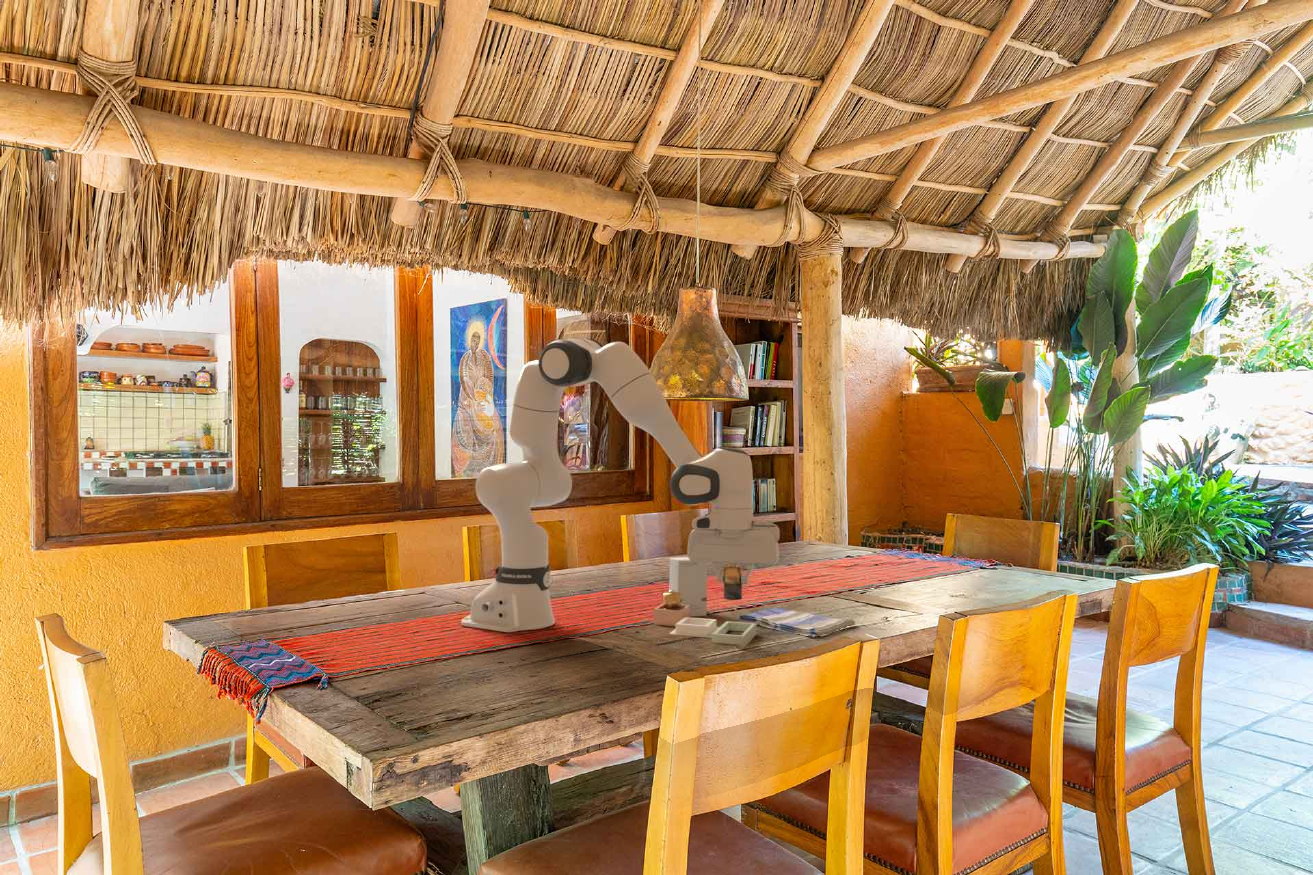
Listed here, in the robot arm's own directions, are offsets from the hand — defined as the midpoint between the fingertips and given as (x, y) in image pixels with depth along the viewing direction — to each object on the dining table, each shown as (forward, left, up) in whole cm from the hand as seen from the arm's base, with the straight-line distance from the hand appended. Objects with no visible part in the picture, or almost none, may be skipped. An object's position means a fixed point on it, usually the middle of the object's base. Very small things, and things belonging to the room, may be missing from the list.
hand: (733, 583), depth 191 cm
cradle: (-10, +4, -13) cm, 17 cm away
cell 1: (-18, +11, -12) cm, 24 cm away
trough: (0, +2, -13) cm, 13 cm away
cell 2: (0, 0, -3) cm, 3 cm away
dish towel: (+10, +22, -14) cm, 28 cm away
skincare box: (-17, +21, -13) cm, 30 cm away
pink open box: (-18, +11, -13) cm, 25 cm away
